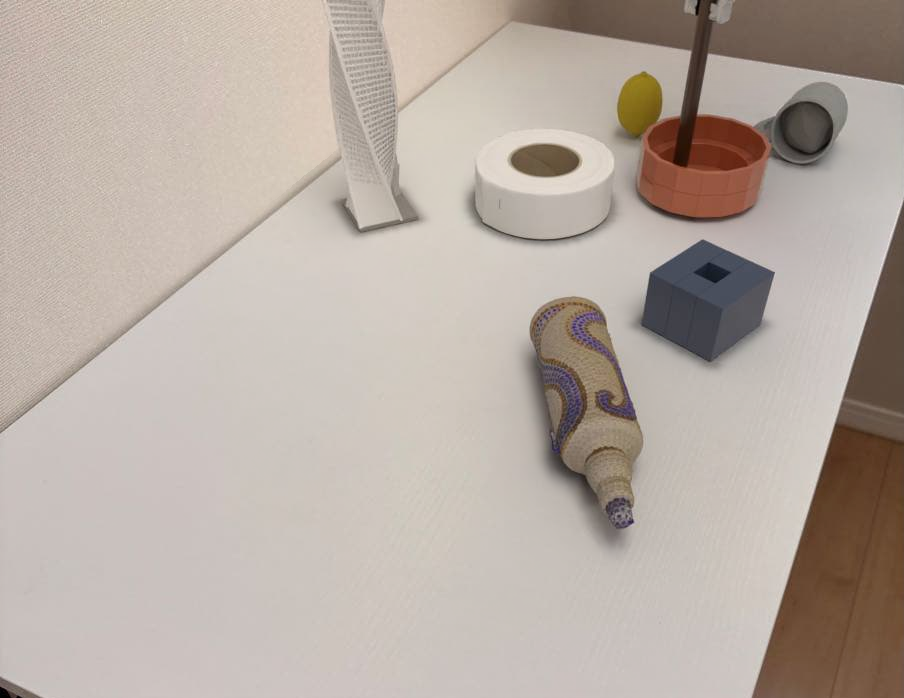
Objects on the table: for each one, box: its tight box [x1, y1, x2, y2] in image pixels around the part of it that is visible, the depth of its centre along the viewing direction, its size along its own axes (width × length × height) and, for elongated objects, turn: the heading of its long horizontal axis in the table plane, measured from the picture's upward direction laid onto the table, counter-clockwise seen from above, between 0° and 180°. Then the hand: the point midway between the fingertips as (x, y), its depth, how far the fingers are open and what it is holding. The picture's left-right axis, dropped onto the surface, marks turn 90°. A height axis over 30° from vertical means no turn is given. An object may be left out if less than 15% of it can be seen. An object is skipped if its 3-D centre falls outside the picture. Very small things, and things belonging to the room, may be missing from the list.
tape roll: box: [474, 128, 616, 240], centre depth 107 cm, size 16×16×6 cm
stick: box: [673, 0, 718, 168], centre depth 103 cm, size 2×2×20 cm
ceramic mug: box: [752, 81, 849, 165], centre depth 115 cm, size 11×8×8 cm
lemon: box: [616, 70, 664, 138], centre depth 117 cm, size 6×6×8 cm
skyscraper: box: [321, 0, 419, 233], centre depth 98 cm, size 8×8×28 cm
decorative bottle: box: [529, 295, 644, 530], centre depth 80 cm, size 26×8×7 cm, turn 5°
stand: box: [641, 238, 776, 363], centre depth 91 cm, size 8×8×6 cm
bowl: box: [635, 113, 773, 219], centre depth 109 cm, size 14×14×6 cm
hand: (706, 17), depth 98 cm, fingers closed on stick, 2 cm apart
